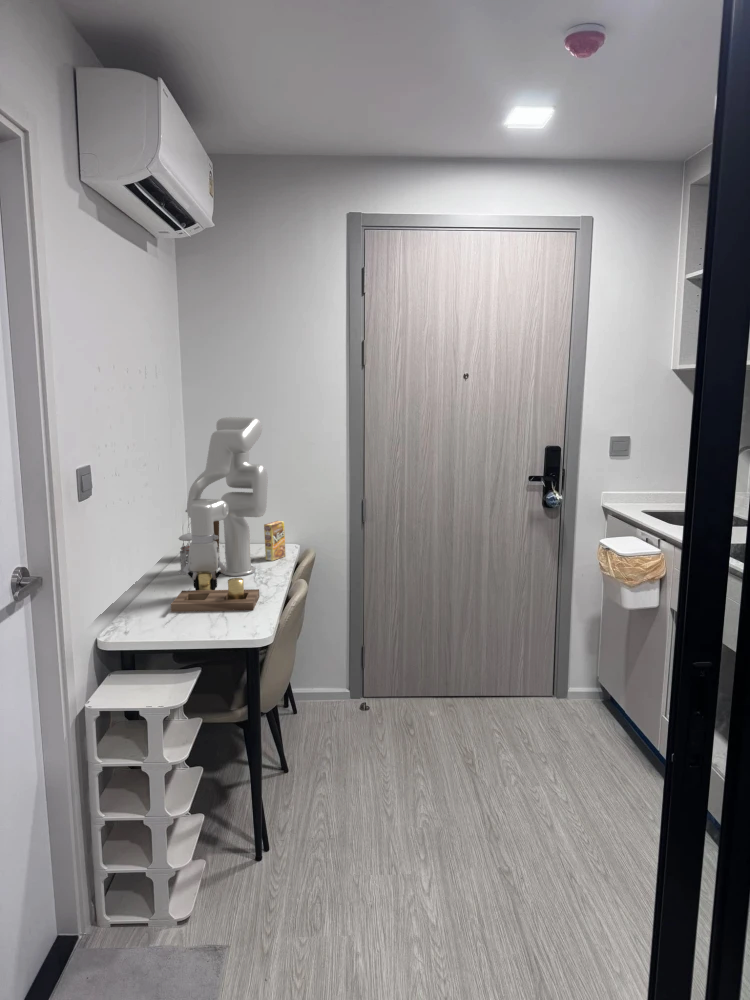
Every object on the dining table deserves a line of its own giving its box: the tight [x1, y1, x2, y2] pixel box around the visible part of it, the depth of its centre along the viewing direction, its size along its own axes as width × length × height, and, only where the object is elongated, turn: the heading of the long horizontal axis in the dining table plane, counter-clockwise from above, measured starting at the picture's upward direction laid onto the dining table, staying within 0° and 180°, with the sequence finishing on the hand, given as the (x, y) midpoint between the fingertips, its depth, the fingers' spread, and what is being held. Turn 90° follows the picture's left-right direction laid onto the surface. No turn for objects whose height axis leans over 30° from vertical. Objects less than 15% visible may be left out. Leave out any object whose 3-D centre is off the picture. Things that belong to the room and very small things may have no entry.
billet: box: [197, 572, 212, 590], centre depth 228 cm, size 5×5×8 cm
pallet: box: [170, 588, 260, 613], centre depth 216 cm, size 14×26×4 cm, turn 92°
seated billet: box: [227, 577, 245, 600], centre depth 215 cm, size 5×5×8 cm
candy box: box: [263, 520, 287, 562], centre depth 275 cm, size 9×4×15 cm, turn 150°
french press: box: [178, 508, 192, 576], centre depth 255 cm, size 10×12×25 cm
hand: (205, 589), depth 228 cm, fingers closed on billet, 5 cm apart
